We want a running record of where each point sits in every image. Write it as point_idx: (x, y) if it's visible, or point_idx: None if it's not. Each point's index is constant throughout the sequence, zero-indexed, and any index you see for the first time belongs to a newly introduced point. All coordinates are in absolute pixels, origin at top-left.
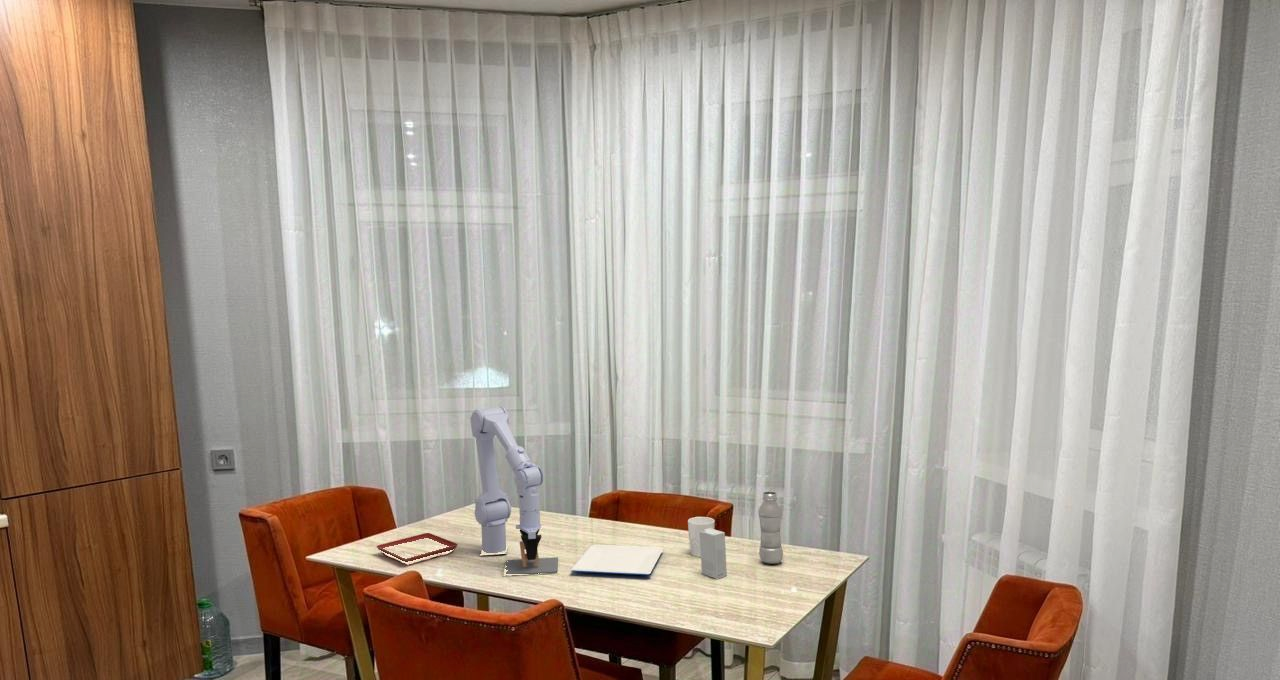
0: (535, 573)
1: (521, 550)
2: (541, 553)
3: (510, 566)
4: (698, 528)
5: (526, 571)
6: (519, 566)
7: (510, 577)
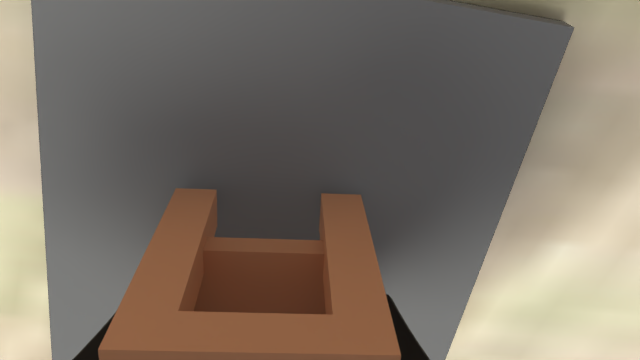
0: (49, 267)
1: (121, 311)
2: (626, 351)
3: (312, 53)
4: None
5: (95, 201)
6: (277, 150)
7: (3, 16)
